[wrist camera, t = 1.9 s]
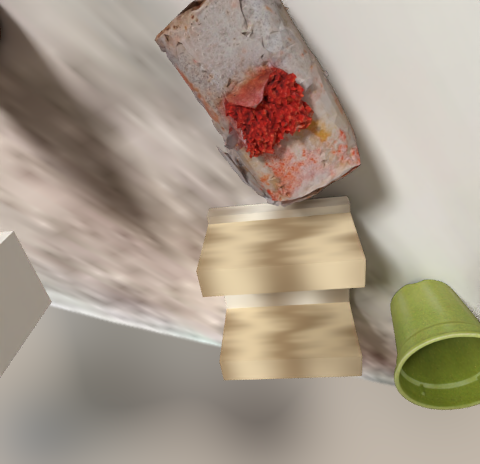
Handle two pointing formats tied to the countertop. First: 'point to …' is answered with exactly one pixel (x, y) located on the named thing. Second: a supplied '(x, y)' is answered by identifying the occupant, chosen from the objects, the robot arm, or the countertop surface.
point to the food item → (263, 96)
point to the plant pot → (436, 347)
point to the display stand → (285, 288)
